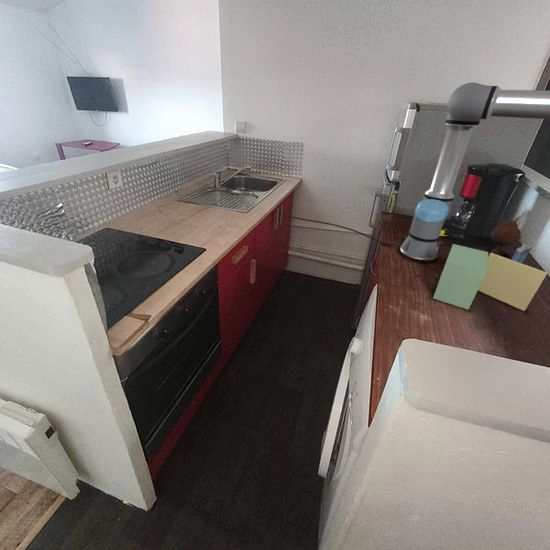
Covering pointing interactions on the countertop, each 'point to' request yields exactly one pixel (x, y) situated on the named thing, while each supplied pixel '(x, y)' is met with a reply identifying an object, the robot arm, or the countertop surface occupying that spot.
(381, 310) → the countertop surface
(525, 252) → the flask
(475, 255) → the cupboard
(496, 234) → the ice cream bowl
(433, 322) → the countertop surface
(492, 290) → the door
